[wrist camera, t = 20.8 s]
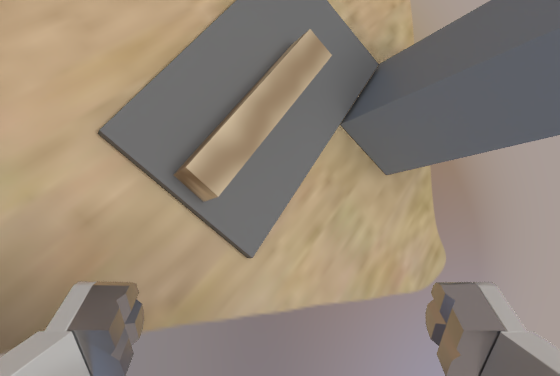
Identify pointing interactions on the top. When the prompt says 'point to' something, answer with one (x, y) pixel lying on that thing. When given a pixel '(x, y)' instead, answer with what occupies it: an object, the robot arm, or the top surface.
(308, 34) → the maple rod
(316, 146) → the rubber mat
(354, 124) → the slate block
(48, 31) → the top surface
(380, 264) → the top surface
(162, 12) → the top surface
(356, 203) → the top surface
